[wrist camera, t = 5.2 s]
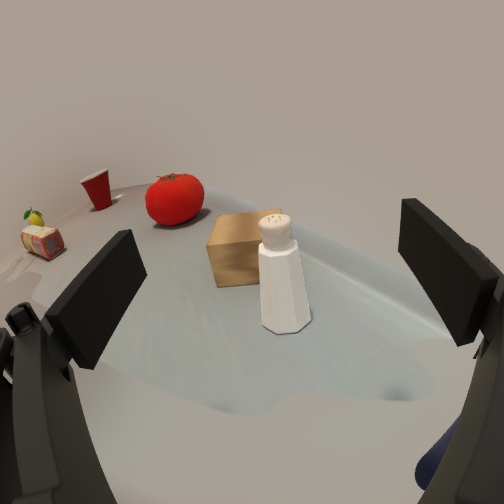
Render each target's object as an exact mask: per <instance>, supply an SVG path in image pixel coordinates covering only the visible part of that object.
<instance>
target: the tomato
mask: <svg viewBox="0 0 504 504" xmlns="http://www.w3.org/2000/svg"><path fill="white" fill-rule="evenodd" d="M145 200H146V209H147V211H148V214H149V216H150V217H151V218H152V219H153V220H155V221H156V222H158V223H160V224H163V225H176V224H179V223H183V222H185V221H187V220H189V219H191V218H193V217H194V216H195V215H196V214H197V213H198V212H199V210H200V209H201V208H202V204H203V200H204V189H203V186H202V184H201V183H200V181H199V180H198V179H197V178H196V177H194V176H192V175H188V174H184V175H181V174H170V175H166V176H163V177H160V179H159V180H158V181H157V182H156V183H155V184H153V185H151V186H150V187H149V189H148V190H147V193H146V196H145Z"/></svg>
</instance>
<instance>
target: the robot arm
mask: <svg viewBox="0 0 504 504" xmlns="http://www.w3.org/2000/svg"><path fill="white" fill-rule="evenodd" d="M398 252H399V253H400V255H401V256H402V257H403V259H404V260H405V262H406V263H407V264H408V266H409V267H410V269H411V270H412V272H413V273H414V275H415V276H416V278H417V279H418V281H419V283H420V284H421V286H422V287H423V289H424V290H425V292H426V293H427V295H428V297H429V298H430V300H431V301H432V303H433V305H434V306H435V308H436V310H437V311H438V313H439V315H440V316H441V318H442V320H443V321H444V323H445V325H446V327H447V328H448V330H449V332H450V334H451V336H452V337H453V339H454V341H455V343H456V345H457V346H458V347H459V346H462V345H466V344H469V343H472V342H474V340H475V338H476V336H477V334H478V331H479V329H480V330H481V332H482V334H483V335H484V338H483V340H482V342H481V344H480V346H479V348H478V350H477V352H476V354H475V356H474V357H473V359H476V357H477V356H478V358H477V362H476V366H475V370H474V374H473V377H472V381H471V384H470V388H469V391H468V394H467V397H466V400H465V403H464V407H463V409H462V412H461V415H460V418H459V420H458V423H457V425H456V428H455V430H454V433H453V435H452V438H451V440H450V442H449V445H448V447H447V449H446V451H445V454H444V456H443V458H442V460H441V462H440V464H439V466H438V468H437V470H436V472H435V474H434V476H433V478H432V479H431V481H430V483H429V485H428V487H427V488H426V490H425V492H424V494H423V495H422V497H421V499H420V500H419V502H418V504H504V275H503V273H501V271H500V270H499V269H498V268H497V267H496V266H495V265H494V264H493V263H491V262H490V260H489V259H488V258H487V257H485V255H484V254H483V253H482V252H481V251H480V250H479V249H478V248H476V247H475V246H473V245H471V244H469V243H466V242H465V241H464V240H463V239H462V238H461V237H460V236H459V235H458V234H457V233H456V232H455V231H453V230H452V229H451V228H450V227H449V226H448V225H447V224H446V223H444V222H443V221H442V220H441V219H440V218H439V217H438V216H436V215H435V214H434V213H433V212H432V211H431V210H429V209H428V208H427V207H426V206H425V205H423V204H422V203H421V202H420V201H418V200H417V199H416V198H411V199H402V206H401V222H400V235H399V245H398ZM146 277H147V273H146V270H145V268H144V265H143V262H142V259H141V257H140V254H139V251H138V248H137V245H136V242H135V239H134V236H133V233H132V230H131V229H128V230H122V231H118V232H117V233H116V234H115V235H114V237H113V238H112V239H111V240H110V241H109V242H108V243H107V244H106V245H105V246H104V247H103V248H102V249H101V250H100V251H99V252H98V253H97V254H96V255H95V256H94V257H93V258H92V259H91V261H90V262H89V263H88V264H87V265H86V266H85V267H84V268H83V269H82V270H81V272H80V273H79V274H78V275H77V276H76V277H75V278H74V279H73V281H72V282H71V283H70V284H69V285H68V286H67V288H66V289H65V290H64V291H63V292H62V293H61V295H60V296H59V297H58V298H57V299H56V301H55V302H54V303H53V304H52V306H51V307H50V308H49V309H48V311H47V312H46V313H45V316H44V317H43V318H42V320H41V321H40V320H39V319H38V317H37V315H36V314H35V312H34V311H33V309H32V307H31V305H30V303H28V302H24V303H21V304H19V305H17V306H15V307H14V308H13V309H12V310H11V311H10V312H9V313H8V314H7V316H6V318H5V320H6V322H7V323H8V325H9V326H10V328H11V329H12V331H13V332H14V334H15V335H16V336H13V337H11V335H10V334H9V332H8V331H7V329H6V328H0V504H117V502H116V500H115V498H114V496H113V493H112V492H111V489H110V487H109V485H108V482H107V480H106V477H105V475H104V473H103V470H102V468H101V465H100V462H99V460H98V457H97V454H96V452H95V449H94V446H93V443H92V440H91V437H90V434H89V431H88V428H87V424H86V421H85V417H84V414H83V410H82V406H81V402H80V399H79V394H78V390H77V386H76V382H75V377H74V372H73V369H72V367H71V366H70V364H69V362H70V360H71V359H72V358H73V359H74V361H75V362H76V363H77V365H78V366H79V367H80V368H84V369H91V370H94V368H95V366H96V364H97V362H98V360H99V358H100V356H101V354H102V353H103V351H104V349H105V347H106V345H107V343H108V341H109V340H110V338H111V336H112V334H113V332H114V331H115V329H116V327H117V325H118V324H119V322H120V320H121V318H122V317H123V315H124V313H125V311H126V310H127V308H128V306H129V305H130V303H131V301H132V300H133V298H134V296H135V295H136V293H137V291H138V290H139V288H140V286H141V285H142V283H143V281H144V280H145V278H146ZM4 370H5V371H6V372H7V373H8V374H9V376H10V377H11V378H12V379H13V382H12V384H10V383H9V382H8V381H7V379H6V378H5V377H4V376H3V371H4Z"/></svg>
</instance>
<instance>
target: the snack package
mask: <svg viewBox="0 0 504 504" xmlns="http://www.w3.org/2000/svg"><path fill="white" fill-rule="evenodd" d="M21 239H22V242H23V244H24V247H25V248H26V249H27V250H30V251H32V252H34V253H37V254H39V255H41V256H44V257H46V258H47V259H53V258H55V257H56V256H57V255H59V254H60V253H61V252H62V251H63V250H64V241H63V239H62V236H61V234H60V232H59V230H58V229H55V228H48V227H41V226H37V225H30V226H28V227H26V228H25V229H24V230H23V231H22V233H21Z"/></svg>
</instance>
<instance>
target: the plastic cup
mask: <svg viewBox="0 0 504 504" xmlns="http://www.w3.org/2000/svg"><path fill="white" fill-rule="evenodd" d="M108 178H109V177H108V168H106V169H103V170H100V171H98V172H96V173H94V174H92V175H90V176H88V177H86V178H84V179H82V180H81V181H80V183H81V184H82V185H83V186H84V188H85V189H86V191H87V193H88V195H89V197H90V199H91V201H92V202H93V204H94V206H95V208H96V210H102V209H105V208H107V207H109V206H110V205H111V204H112V203H111V202H112V201H111V195H110V194H111V193H110V186H109V179H108Z"/></svg>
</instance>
